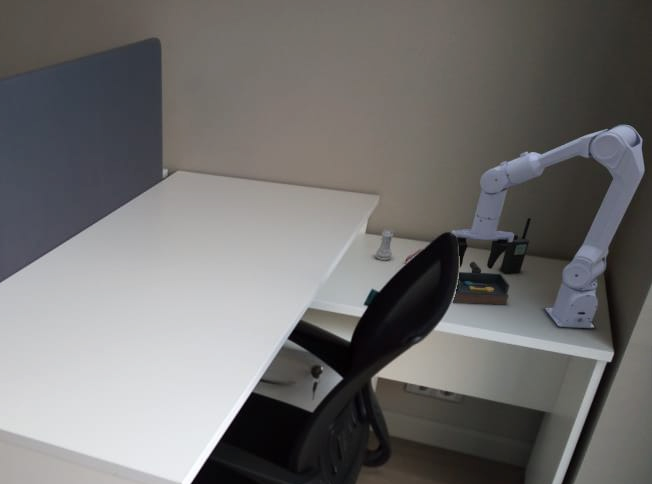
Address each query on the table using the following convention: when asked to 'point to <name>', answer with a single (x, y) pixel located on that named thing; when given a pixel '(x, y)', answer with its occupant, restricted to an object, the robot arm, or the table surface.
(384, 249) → the rook chess piece
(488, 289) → the brass key
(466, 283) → the teal key
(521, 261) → the walkie-talkie
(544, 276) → the table surface
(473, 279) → the dark grey tray
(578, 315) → the robot arm
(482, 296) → the stand
